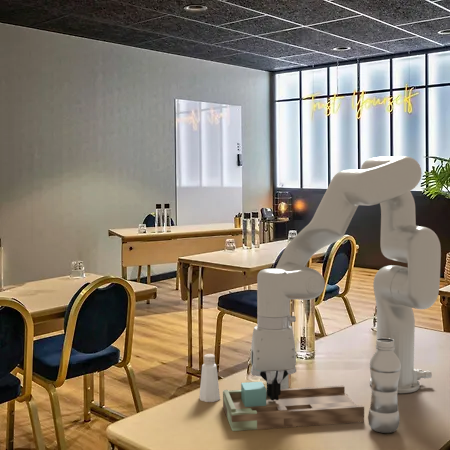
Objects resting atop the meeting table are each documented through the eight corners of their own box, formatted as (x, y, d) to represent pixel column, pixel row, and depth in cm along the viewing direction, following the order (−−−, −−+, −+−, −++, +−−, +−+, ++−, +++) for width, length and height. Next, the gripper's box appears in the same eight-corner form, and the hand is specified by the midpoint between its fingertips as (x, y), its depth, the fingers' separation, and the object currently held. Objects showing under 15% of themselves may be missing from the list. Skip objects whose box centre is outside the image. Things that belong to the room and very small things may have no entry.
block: (261, 397, 146) (261, 381, 146) (266, 405, 141) (266, 388, 141) (241, 399, 145) (241, 382, 145) (245, 406, 140) (244, 390, 140)
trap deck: (343, 399, 150) (343, 381, 150) (364, 421, 136) (364, 402, 136) (223, 406, 146) (222, 388, 145) (232, 431, 132) (232, 410, 132)
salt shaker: (204, 403, 148) (204, 359, 147) (195, 396, 152) (194, 353, 151) (224, 399, 150) (224, 356, 149) (214, 393, 155) (214, 350, 154)
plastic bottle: (363, 425, 135) (364, 336, 133) (393, 423, 135) (394, 335, 133) (373, 437, 128) (374, 344, 126) (404, 436, 129) (406, 343, 127)
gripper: (300, 316, 147) (300, 390, 148) (239, 319, 144) (239, 394, 146) (309, 324, 139) (308, 402, 141) (244, 327, 137) (245, 406, 138)
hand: (273, 398), depth 143 cm, fingers closed
